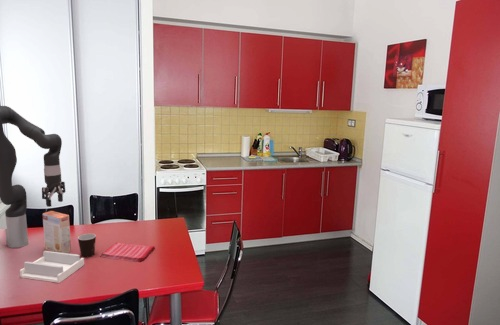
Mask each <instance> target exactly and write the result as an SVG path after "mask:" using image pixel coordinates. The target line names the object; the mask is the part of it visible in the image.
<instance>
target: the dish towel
mask: <svg viewBox="0 0 500 325" xmlns="http://www.w3.org/2000/svg"><path fill="white" fill-rule="evenodd" d="M154 250H156V247H155V246H154V245H152V246H150V245H140V244H132V243H131V244H130V243H129V244H128V243H122V242H115V243H114V244H113V245H111V246H110V247H109V248H108V249H106V250H105V251H104V252H102V253H101V254H100V256H99V257H100V258H107V259H113V260H120V261H121V260H122V261H129V262H138V263H139V262H140V263H141V262H142V261H144V259H146V257H148V256H149V255H150V254H151V253H152V252H154Z"/></svg>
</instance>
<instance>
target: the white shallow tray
mask: <svg viewBox="0 0 500 325" xmlns="http://www.w3.org/2000/svg"><path fill="white" fill-rule="evenodd" d="M42 253H43V255H42V256H41V257H39V258H38V259H36V260H34V261H33V262H32V261H24V262H23V265H24V267H23V268H21V269H19V277H20V278H21V279H29V280H30V279H31V280H35V281H36V280H37V281H41V282H42V281H44V282H52V283H58V284H60V283H62V282H63V281H64V280H65V279H67V278H68V277H70V276H71V275H72V274H73V273H75V272H77V271H78V270H79V269H81V268H82V267H83V266H85V257H81V254H76V253H60V252H52V251H46V250H43V252H42Z"/></svg>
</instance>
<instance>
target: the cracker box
mask: <svg viewBox="0 0 500 325" xmlns="http://www.w3.org/2000/svg"><path fill="white" fill-rule="evenodd" d="M70 223H71V222H70V215H69V214H66V213H63V212H58V211H55V210H49V211H46V212H43V213H42V226H43V240H44V251H52V252H60V253H68V254H72V244H71V227H70Z"/></svg>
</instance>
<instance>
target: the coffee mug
mask: <svg viewBox="0 0 500 325" xmlns="http://www.w3.org/2000/svg"><path fill="white" fill-rule="evenodd" d="M96 238H97V235H96V234H95V233H83V234H81V235H79V236H77V241H78V246H79V251H80V257H81V258H91V257H93V256H95V253H96V251H95V250H96V241H97V239H96Z"/></svg>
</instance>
